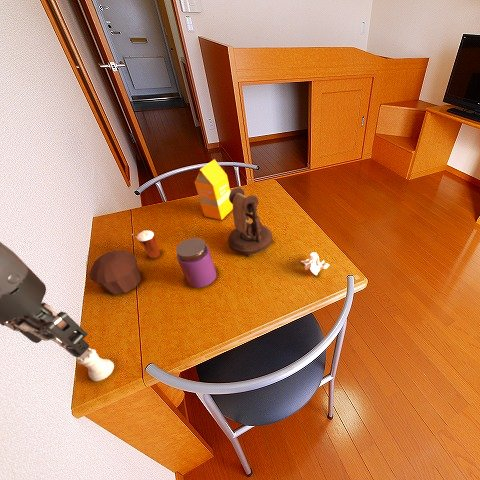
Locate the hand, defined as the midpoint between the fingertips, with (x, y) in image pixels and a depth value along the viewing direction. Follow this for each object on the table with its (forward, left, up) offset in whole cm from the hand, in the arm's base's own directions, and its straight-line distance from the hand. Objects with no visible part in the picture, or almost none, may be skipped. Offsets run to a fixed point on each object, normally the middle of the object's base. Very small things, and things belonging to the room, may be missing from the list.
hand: (62, 344), depth 46 cm
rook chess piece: (+2, +5, -19) cm, 20 cm away
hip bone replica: (+46, -30, -19) cm, 59 cm away
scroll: (+51, -6, -19) cm, 55 cm away
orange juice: (+64, +14, -19) cm, 69 cm away
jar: (+33, +1, -19) cm, 38 cm away
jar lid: (+33, +1, -7) cm, 34 cm away
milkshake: (+36, +21, -19) cm, 46 cm away
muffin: (+24, +21, -19) cm, 37 cm away
